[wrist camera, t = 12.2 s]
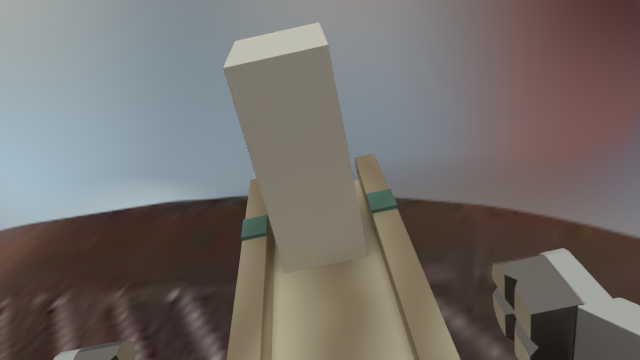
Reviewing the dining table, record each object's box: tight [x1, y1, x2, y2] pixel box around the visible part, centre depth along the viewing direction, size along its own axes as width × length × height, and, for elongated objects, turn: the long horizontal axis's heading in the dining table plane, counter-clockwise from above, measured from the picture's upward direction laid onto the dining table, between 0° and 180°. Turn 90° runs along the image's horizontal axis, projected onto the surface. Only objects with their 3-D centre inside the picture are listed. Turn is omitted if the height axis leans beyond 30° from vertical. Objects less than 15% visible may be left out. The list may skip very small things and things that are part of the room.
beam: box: [227, 154, 460, 360], centre depth 22 cm, size 8×17×6 cm, turn 5°
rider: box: [223, 23, 368, 273], centre depth 22 cm, size 4×5×10 cm
